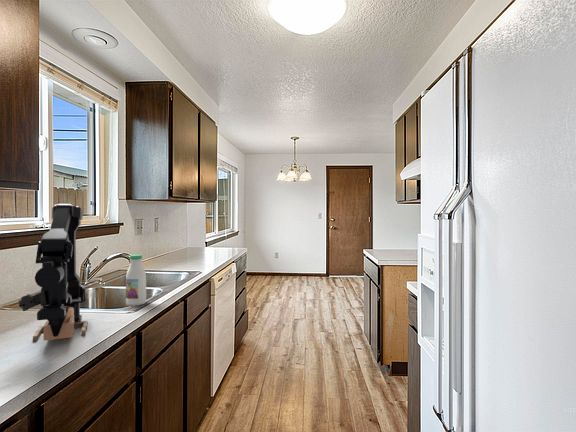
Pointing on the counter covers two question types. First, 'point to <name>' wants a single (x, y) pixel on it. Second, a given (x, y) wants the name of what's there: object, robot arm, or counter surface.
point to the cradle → (76, 325)
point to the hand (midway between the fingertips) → (56, 335)
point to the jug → (66, 328)
